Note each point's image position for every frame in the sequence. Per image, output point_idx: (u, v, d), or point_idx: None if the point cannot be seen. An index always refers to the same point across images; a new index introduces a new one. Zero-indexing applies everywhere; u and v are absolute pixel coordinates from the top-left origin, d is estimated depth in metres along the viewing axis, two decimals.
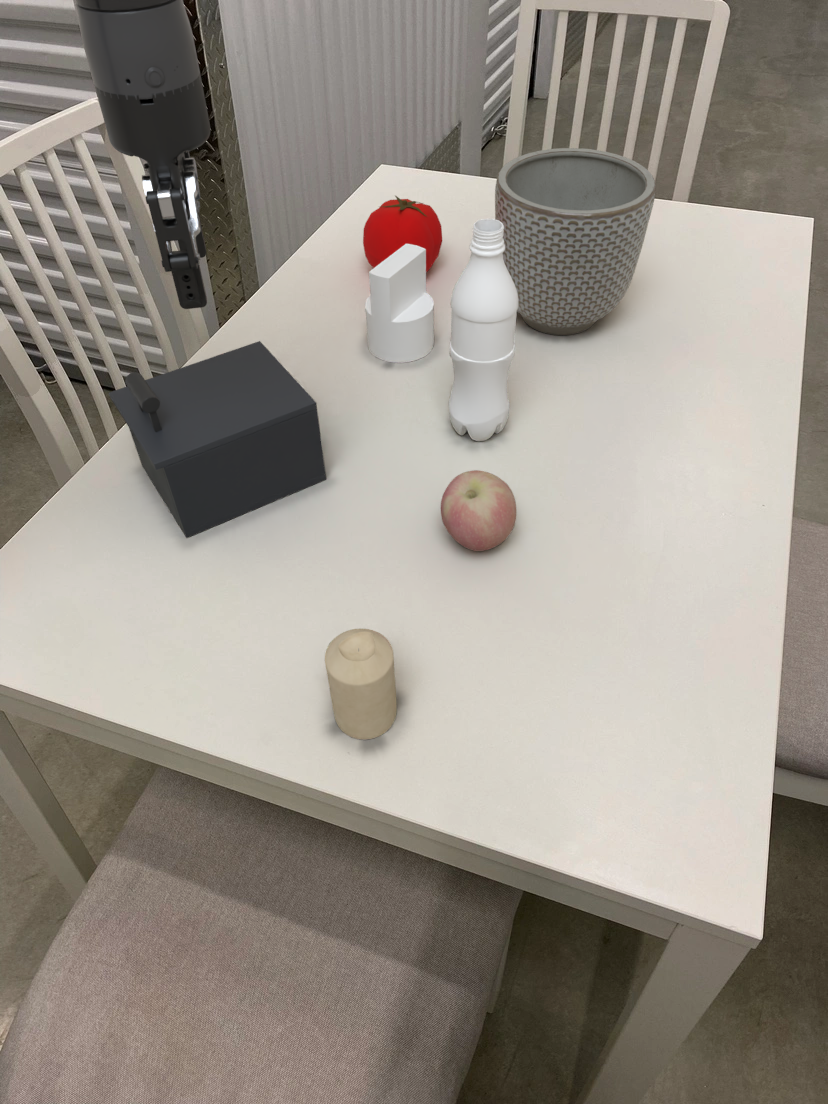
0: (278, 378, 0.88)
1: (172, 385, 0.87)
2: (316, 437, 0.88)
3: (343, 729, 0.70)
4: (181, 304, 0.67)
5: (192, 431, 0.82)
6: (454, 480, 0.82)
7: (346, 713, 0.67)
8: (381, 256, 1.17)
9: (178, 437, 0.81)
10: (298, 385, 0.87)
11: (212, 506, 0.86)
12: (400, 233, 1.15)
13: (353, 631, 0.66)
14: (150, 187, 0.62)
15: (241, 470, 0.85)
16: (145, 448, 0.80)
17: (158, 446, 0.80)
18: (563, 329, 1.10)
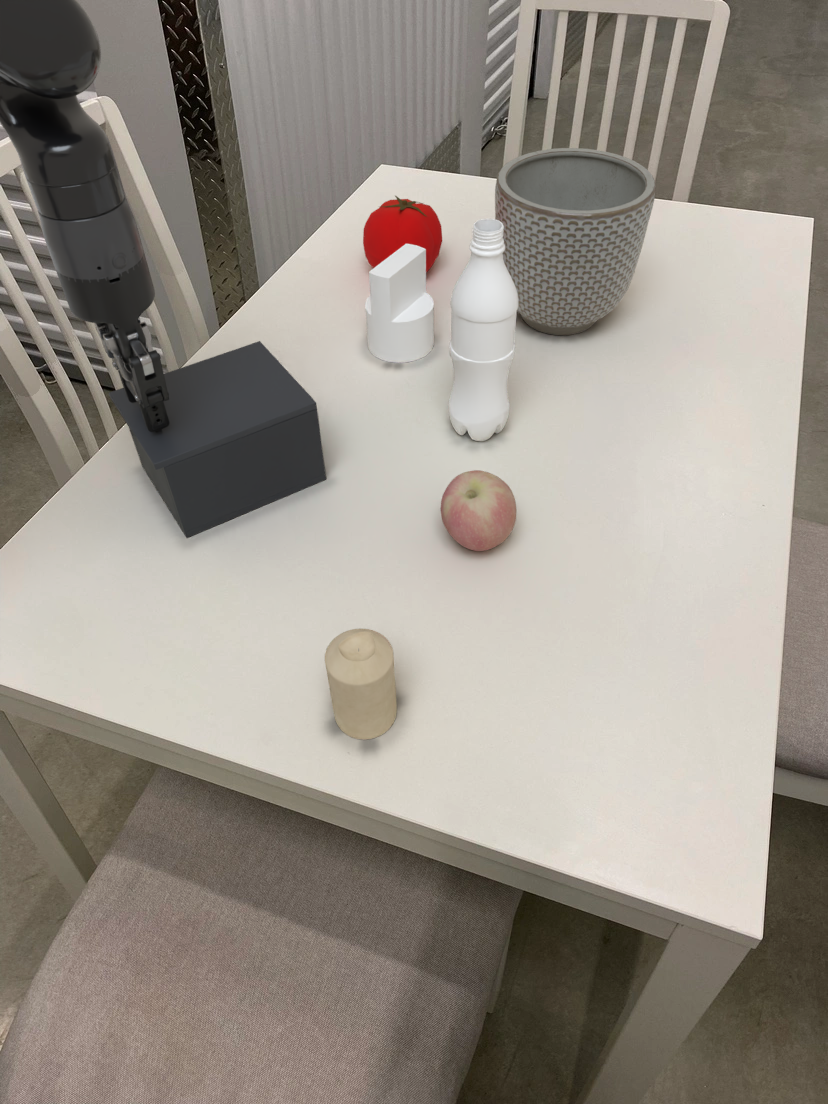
0: (278, 378, 0.88)
1: (172, 385, 0.87)
2: (316, 437, 0.88)
3: (343, 729, 0.70)
4: (149, 429, 0.80)
5: (192, 431, 0.82)
6: (454, 480, 0.82)
7: (346, 713, 0.67)
8: (381, 256, 1.17)
9: (178, 437, 0.81)
10: (298, 385, 0.87)
11: (212, 506, 0.86)
12: (400, 233, 1.15)
13: (353, 631, 0.66)
14: (113, 343, 0.74)
15: (241, 470, 0.85)
16: (145, 448, 0.80)
17: (158, 446, 0.80)
18: (563, 329, 1.10)
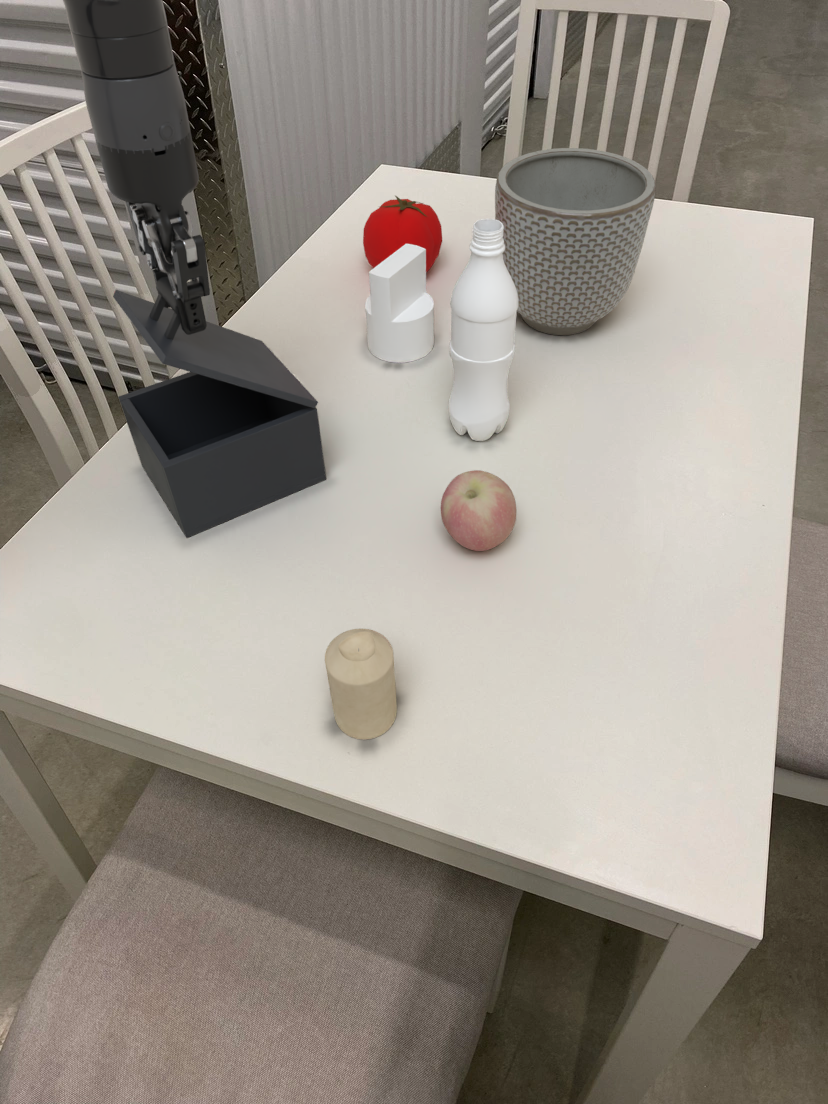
0: (281, 370, 0.87)
1: None
2: (316, 437, 0.88)
3: (343, 729, 0.70)
4: (185, 331, 0.76)
5: (203, 357, 0.77)
6: (454, 480, 0.82)
7: (346, 713, 0.67)
8: (381, 256, 1.17)
9: (189, 353, 0.76)
10: (300, 384, 0.87)
11: (212, 506, 0.86)
12: (400, 233, 1.15)
13: (353, 631, 0.66)
14: (153, 229, 0.69)
15: (241, 470, 0.85)
16: (156, 342, 0.74)
17: (169, 347, 0.74)
18: (563, 329, 1.10)
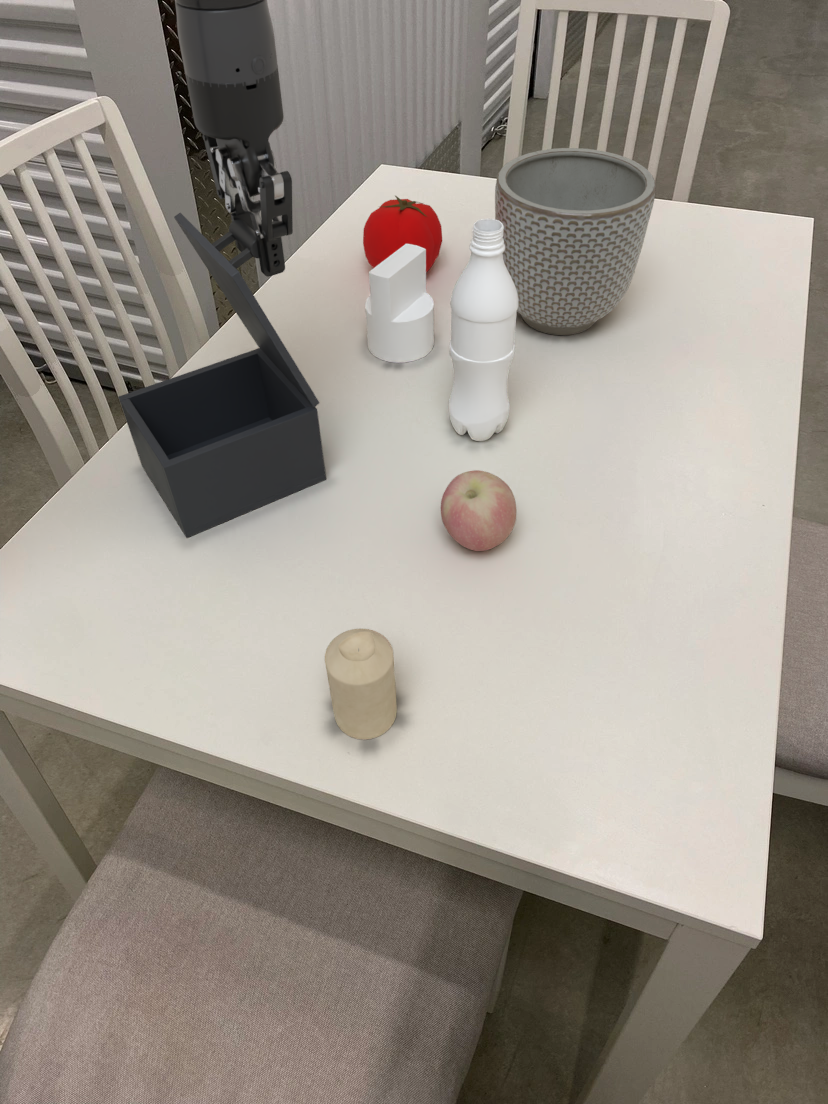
0: None
1: None
2: (316, 437, 0.88)
3: (343, 729, 0.70)
4: (265, 272, 0.76)
5: None
6: (454, 480, 0.82)
7: (346, 713, 0.67)
8: (381, 256, 1.17)
9: None
10: None
11: (212, 506, 0.86)
12: (400, 233, 1.15)
13: (353, 631, 0.66)
14: (239, 167, 0.70)
15: (241, 470, 0.85)
16: None
17: None
18: (563, 329, 1.10)
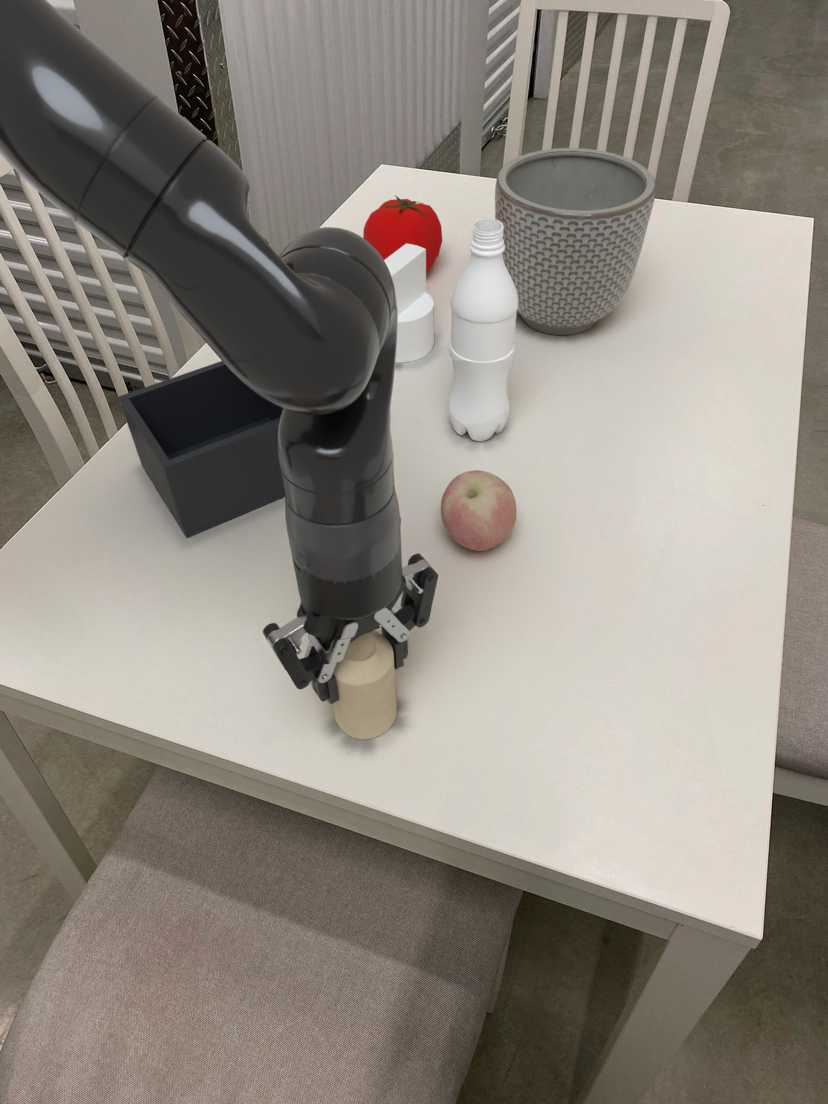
0: None
1: None
2: None
3: (343, 729, 0.70)
4: None
5: None
6: (454, 480, 0.82)
7: (346, 713, 0.67)
8: (381, 256, 1.17)
9: None
10: None
11: (212, 506, 0.86)
12: (400, 233, 1.15)
13: None
14: None
15: (241, 470, 0.85)
16: None
17: None
18: (563, 329, 1.10)
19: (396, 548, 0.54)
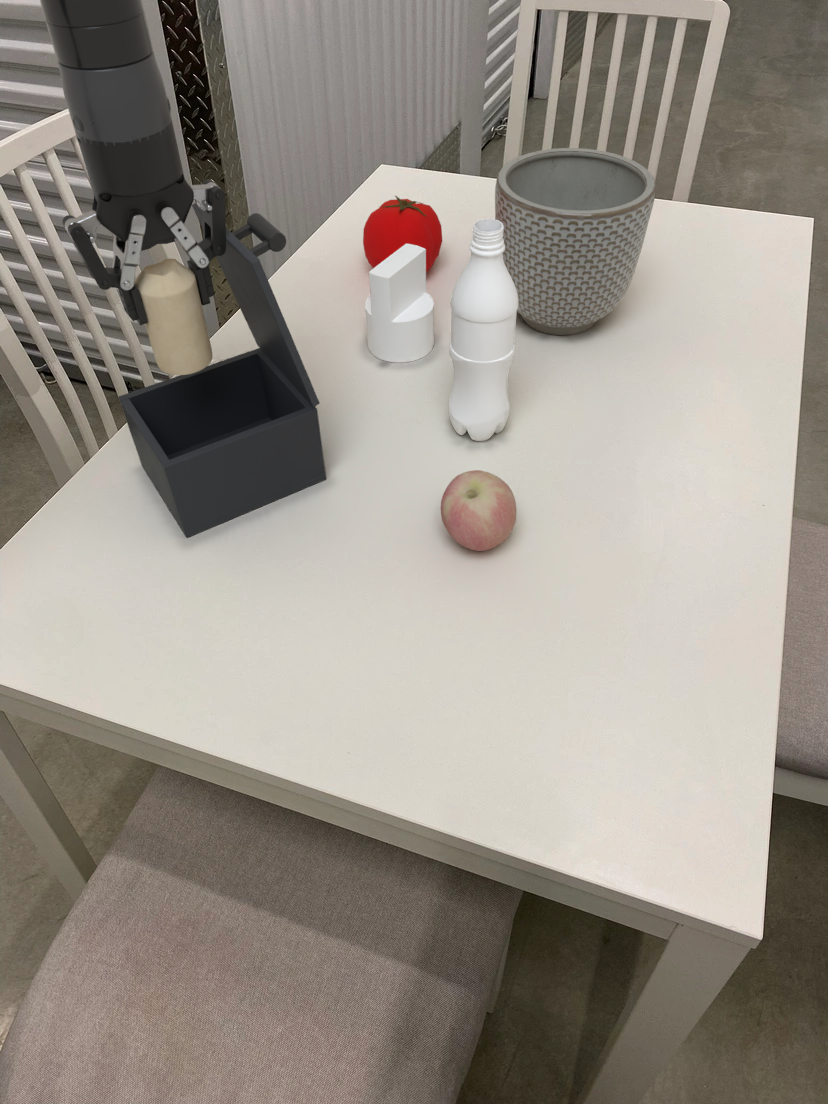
0: None
1: None
2: (316, 437, 0.88)
3: (161, 365, 0.79)
4: None
5: None
6: (454, 480, 0.82)
7: (157, 339, 0.76)
8: (381, 256, 1.17)
9: None
10: None
11: (212, 506, 0.86)
12: (400, 233, 1.15)
13: None
14: None
15: (241, 470, 0.85)
16: (246, 247, 0.73)
17: None
18: (563, 329, 1.10)
19: (162, 122, 0.64)
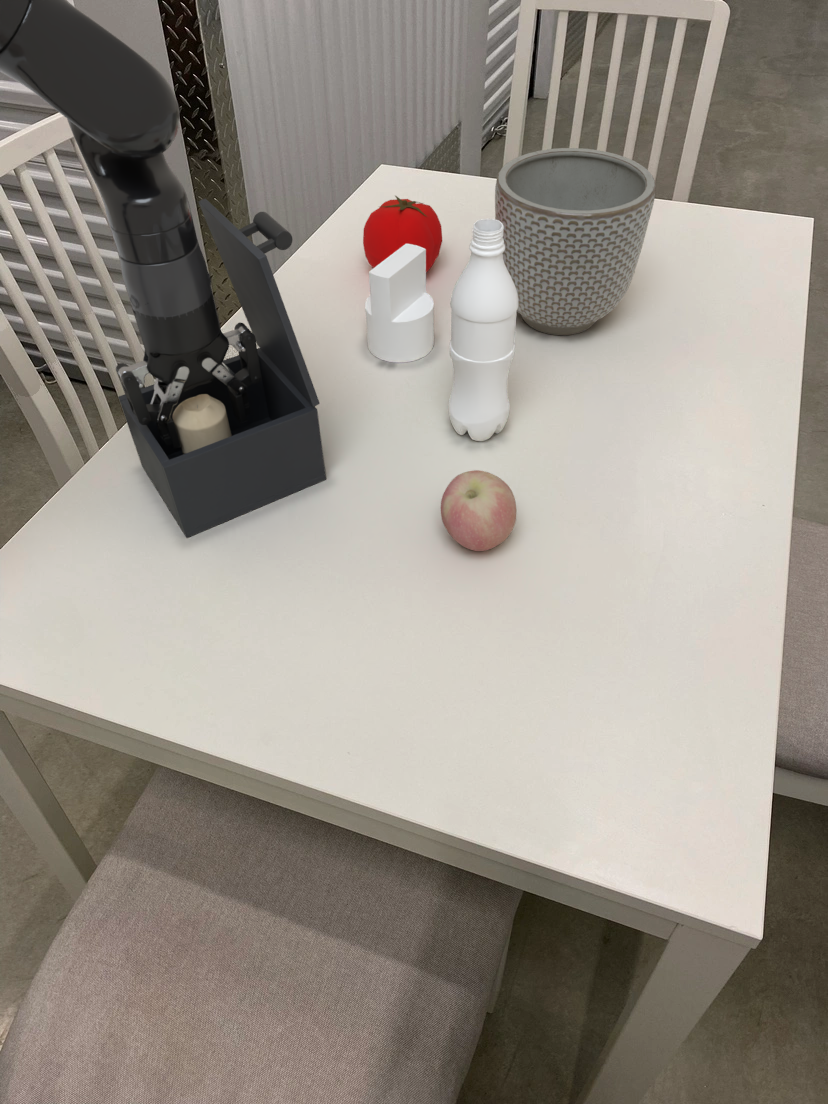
0: None
1: None
2: (316, 437, 0.88)
3: None
4: None
5: None
6: (454, 480, 0.82)
7: None
8: (381, 256, 1.17)
9: None
10: None
11: (212, 506, 0.86)
12: (400, 233, 1.15)
13: None
14: None
15: (241, 470, 0.85)
16: (253, 244, 0.73)
17: None
18: (563, 329, 1.10)
19: (205, 297, 0.75)
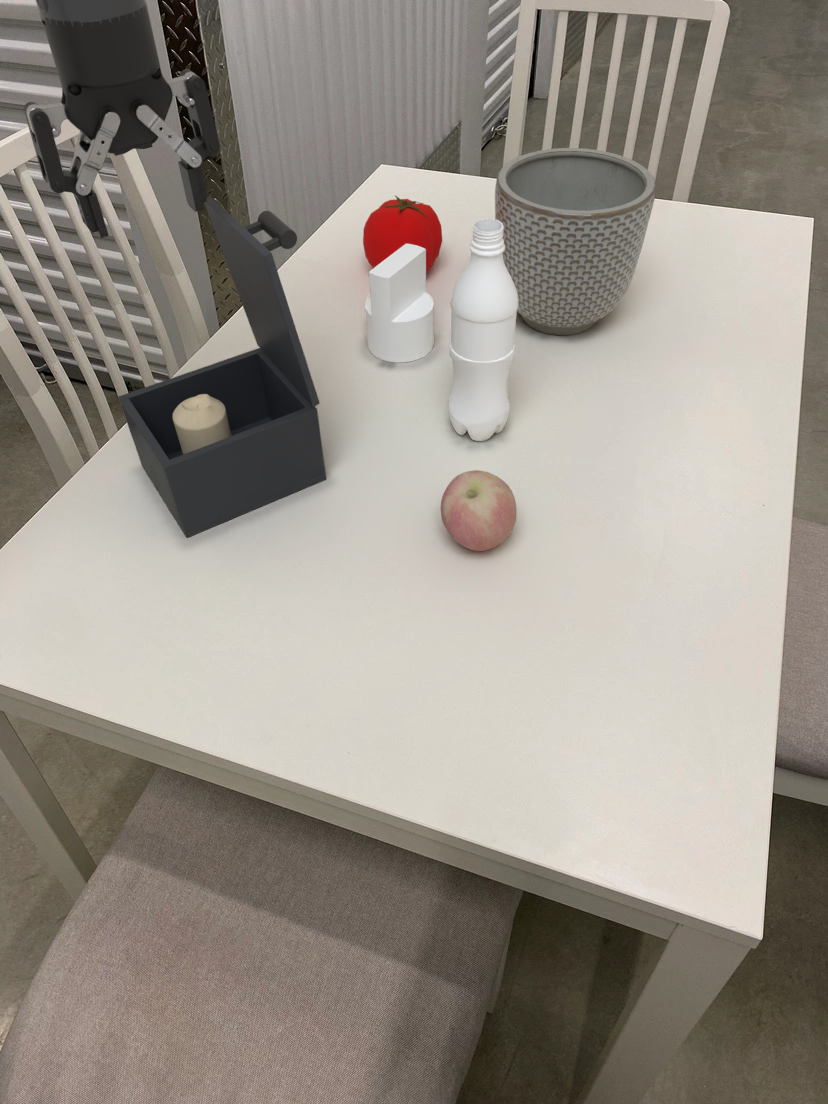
0: None
1: None
2: (316, 437, 0.88)
3: None
4: None
5: None
6: (454, 480, 0.82)
7: None
8: (381, 256, 1.17)
9: None
10: None
11: (212, 506, 0.86)
12: (400, 233, 1.15)
13: None
14: None
15: (241, 470, 0.85)
16: None
17: None
18: (563, 329, 1.10)
19: (135, 3, 0.58)
